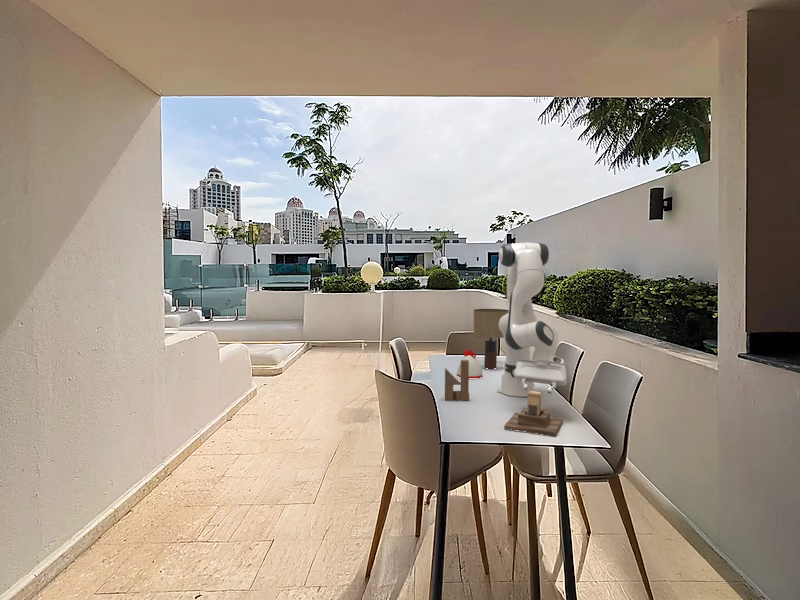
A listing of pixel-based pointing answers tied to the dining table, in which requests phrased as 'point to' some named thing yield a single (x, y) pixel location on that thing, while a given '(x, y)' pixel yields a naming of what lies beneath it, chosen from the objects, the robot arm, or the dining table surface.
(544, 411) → the post base
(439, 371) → the dining table surface
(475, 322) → the lamp
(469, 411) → the dining table surface
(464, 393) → the wooden block
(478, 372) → the kitchen timer
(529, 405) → the tan rectangular box
